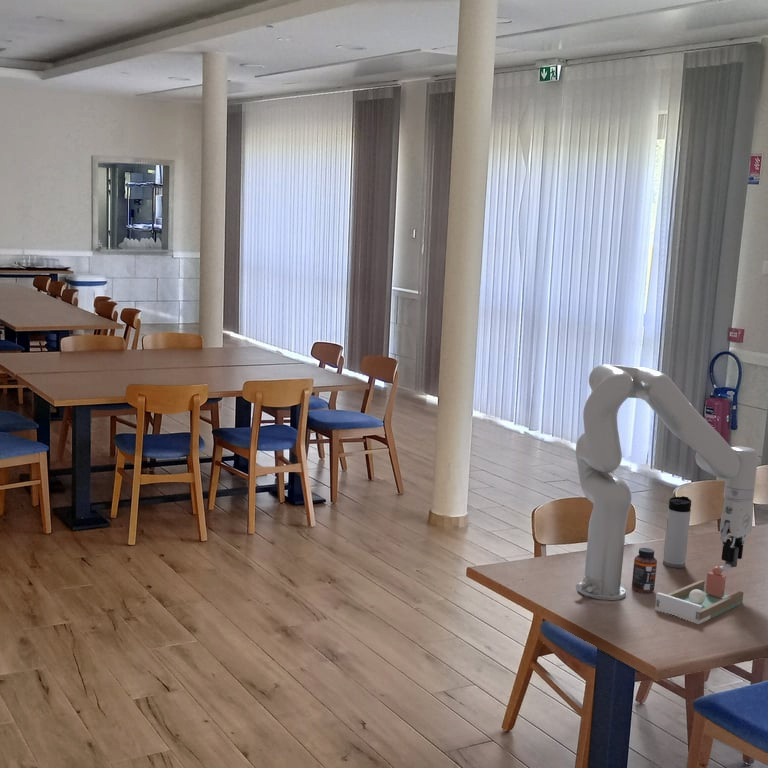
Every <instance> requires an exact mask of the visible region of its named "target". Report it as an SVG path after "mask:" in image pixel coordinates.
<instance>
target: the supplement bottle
mask: <svg viewBox="0 0 768 768" xmlns="http://www.w3.org/2000/svg"><path fill="white" fill-rule="evenodd" d="M633 560H634V561H633V569H632V580H631V588H632V590H633V591H634V592H637V593H640V594H641V593H642V594H651V593H653V592H655V588H656V587H655V586H656V576H657V575H656V574H657V567H658V566H657V564H658V560H657V558H656V557H655V550H654V549H653V548H649V547H639V548H638V555H635V557H634V559H633Z"/></svg>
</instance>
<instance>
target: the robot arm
mask: <svg viewBox="0 0 768 768" xmlns="http://www.w3.org/2000/svg"><path fill="white" fill-rule="evenodd" d="M588 384H589V387H590V389H591V390H592V392H591V393H590V395H589V396H588V398H587V400H586V402H585V405H584V407H583V414H582V415H583V416H582V417H583V430H584V432H583V433H582V434H581V435H580V436H579V438H578V439H577V441H576V445H575V455H576V456H575V458H576V464H577V470H578V476H579V477H578V478H579V484H580V488H581V491H582V493H583V495H584V497H585V498H586V499H587V500H588V501H589V502H591V503H592V504H593V507H592V511H591V514H590V519H589V522H588V531H587V533H588V534H587V543H586V555H585V556H586V557H585V567H584V575H583V579H582V581H581V582H579V583H577V584H576V585H575V590H576V591H577V592H578V593H580V594H582V595H584V596H585V597H589V598H593V599H597V600H605V601H616V600H622V599H624V598H625V597H626V593H627V590H626V588H624V586H621V584H622V582H621V581H622V573H623V572H622V571H623V560H624V553H625V552H624V551H625V540H626V529H627V523H628V516H629V512H630V509H631V505H632V492H631V489H630V487H629V486H628V484H627V483H626V482H625V480H623V479H622V478H620V477H619V476H618V475H616V474H614V471H616V470H617V469H618V468H619V467H620V466H621V463H622V459H623V455H622V447H621V441H620V436H619V435H620V434H619V428H618V413H619V410H620V408H621V406H622V405H623V403H624V402H625V401H626V400H627V399H628V398H631V399H641V400H642V401H645V402H646V403H647V404H648V406H649V407H650V408H651V409H652V411H653V412H655V414H656V415H657V416H658V417H659V419H660V420H661V421H662V423H663V424H664V425H665V427H666V428H667V429H668V430H669V431H670V432H671V433H672V434H673V435H675V437H677V438H678V439H679V440H681V441H682V442H684V443H685V444H687V445H688V447H690V448H691V449H693V450H694V451H695V458H694V459H695V463H696V464H697V465H698V467H699V469H701V470H703V471H705V472H706V473H708V474H711V475H713V476H714V477H716V478H718V479H721V480H725V481H724V490H723V498H724V502H723V507H722V512H721V519H720V525H719V528H720V529H719V532H720V537H719V538H720V540H721V541H722V543H721V544H722V550H721V560H722V561H728V562H731V563H732V562H734V554H735V548H734V546H736V547H738V548H739V551H738V560H741V559H742V558H743V553H744V552H743V551H744V545H745V537H747V535H750V534H751V533H752V531H753V530H752V529H753V522H754V521H753V520H754V497H755V490H756V489H755V487H756V479H757V472H758V471H757V470H758V460H759V453H758V451H757V450H756V449H754V448H752V447H748V446H737V445H736V446H730V444H729V443H728V442H727V441H726V439H725V438H724V437H723V436H722V435H721V434H720V433H719V432H718V431H717V430H716V429H715V428H714V427H713V426H712V425H711V424H710V423H709V422H708V421H707V419H705V417H703V415H701V413H699V412H698V411H697V410H696V408H695V406H693V405H692V404H691V402H690V401H689V399H687V397H686V396H685V395H684V393H683V392H682V391H681V390H680V389H679V387H678V386H677V385H676V383H675V382H674V381H673V380H672V379H671V377H669V376H668V375H667V374H665V373H664V372H661V371H659V370H656V369H653V368H648V367H638V366H637V367H636V366H627V365H618V364H611V363H610V364H609V363H604V364H600V365H597V366H596V367H594V368H593V369H592V370H591V371H590V374H589V376H588Z"/></svg>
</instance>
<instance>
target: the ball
mask: <svg viewBox="0 0 768 768" xmlns="http://www.w3.org/2000/svg"><path fill="white" fill-rule="evenodd" d="M689 600H690V602H691V603H695V604H698V605H701V604H702V603H703V602H704V601H705V595H704V593H703V592H702V591H701V590H699V589H695V590H692V591H691V592H690V594H689Z"/></svg>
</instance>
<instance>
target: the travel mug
mask: <svg viewBox="0 0 768 768" xmlns="http://www.w3.org/2000/svg"><path fill="white" fill-rule="evenodd" d="M691 508H692V500H691V499H690V498H689V496H688V497H687V496H684V495H682V496H673V497H670V498H669V501H668V508H667V516H666V517H667V519H666V528H665V538H664V547H663V558H662V559H663V560H662V564H663V565H664V566H666V567H668V566H669V567H668V568H675V569H681V568H682V567H683V568H684V567H685V566H686V560H687V550H688V543H689V542H688V539H689V532H690V531H689V530H690V523H691V522H690V520H691V511H692V510H691ZM683 568H682V569H683Z"/></svg>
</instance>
